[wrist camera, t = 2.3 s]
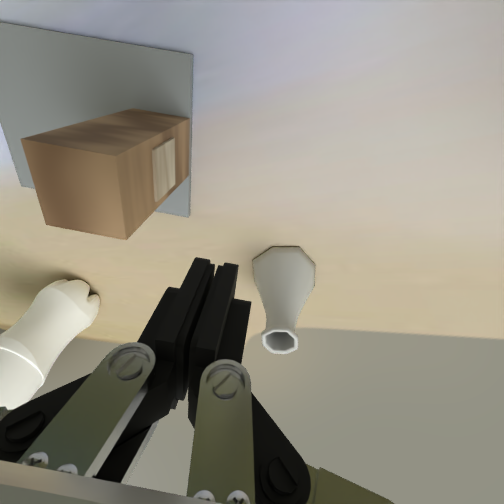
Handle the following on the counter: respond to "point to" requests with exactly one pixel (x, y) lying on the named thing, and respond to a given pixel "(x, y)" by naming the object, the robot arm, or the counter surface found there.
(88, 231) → the cardboard box
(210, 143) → the counter surface
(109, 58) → the mat
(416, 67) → the counter surface
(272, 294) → the flask
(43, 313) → the water bottle
